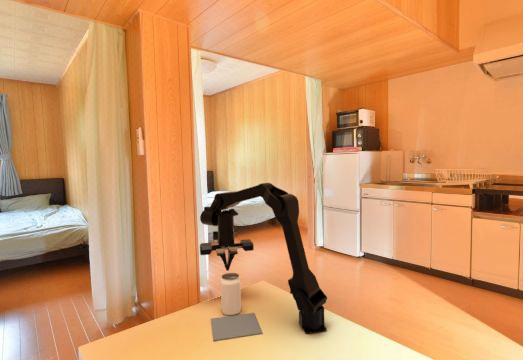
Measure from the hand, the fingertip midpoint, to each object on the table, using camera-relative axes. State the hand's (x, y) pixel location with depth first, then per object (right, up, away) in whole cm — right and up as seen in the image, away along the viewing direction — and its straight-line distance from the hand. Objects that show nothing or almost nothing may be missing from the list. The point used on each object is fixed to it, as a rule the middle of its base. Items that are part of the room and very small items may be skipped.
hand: (227, 270), depth 111 cm
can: (+2, -11, -9) cm, 14 cm away
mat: (+4, -12, -18) cm, 22 cm away
